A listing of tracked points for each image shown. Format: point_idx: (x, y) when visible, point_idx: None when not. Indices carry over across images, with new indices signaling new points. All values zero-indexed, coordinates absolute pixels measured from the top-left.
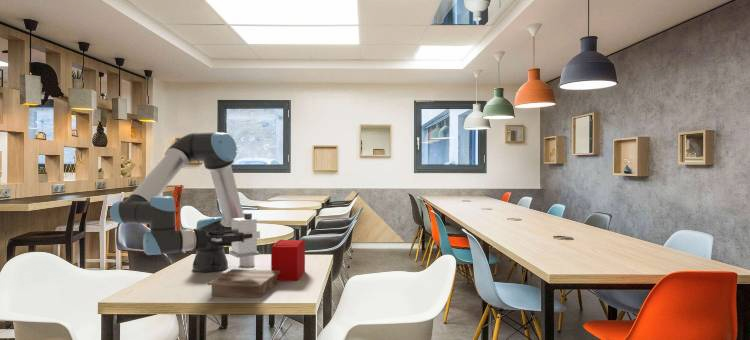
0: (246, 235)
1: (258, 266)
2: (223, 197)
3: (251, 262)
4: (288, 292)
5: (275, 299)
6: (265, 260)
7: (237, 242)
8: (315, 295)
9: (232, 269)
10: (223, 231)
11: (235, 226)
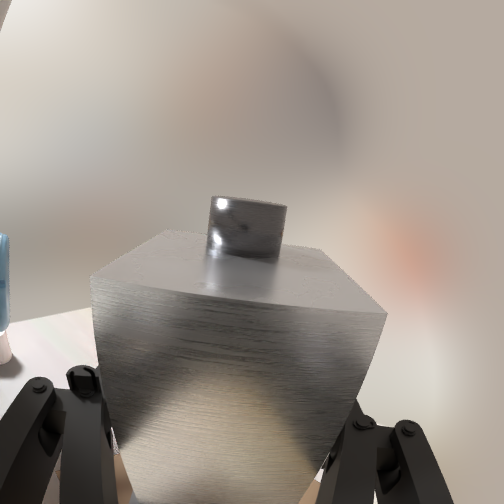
0: (358, 412)
1: (28, 360)
2: None
3: (7, 352)
4: (326, 458)
5: (374, 497)
6: (17, 325)
7: (283, 493)
8: (376, 423)
9: (58, 474)
10: (26, 446)
11: (253, 393)
